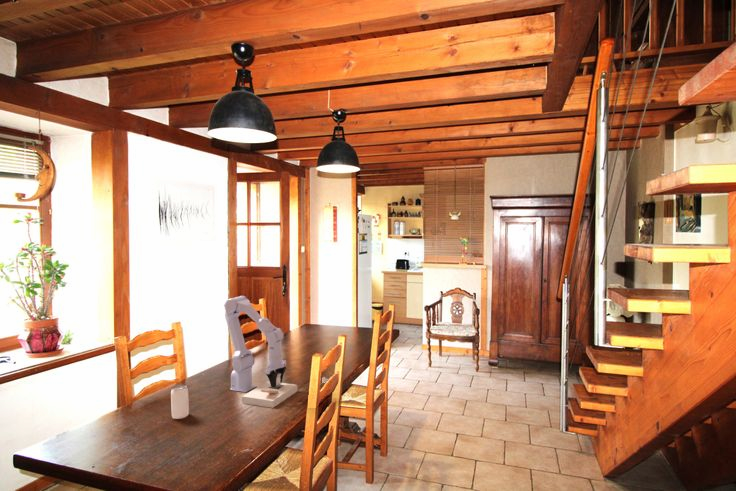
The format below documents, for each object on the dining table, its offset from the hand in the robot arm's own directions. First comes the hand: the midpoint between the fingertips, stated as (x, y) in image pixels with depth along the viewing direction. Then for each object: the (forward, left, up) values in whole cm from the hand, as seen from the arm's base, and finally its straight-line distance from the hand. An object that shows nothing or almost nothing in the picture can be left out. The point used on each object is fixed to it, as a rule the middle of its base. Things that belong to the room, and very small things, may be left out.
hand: (276, 384), depth 200 cm
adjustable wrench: (+17, +13, -4) cm, 21 cm away
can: (-24, -34, -4) cm, 42 cm away
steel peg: (0, 0, -3) cm, 3 cm away
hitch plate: (0, -5, -4) cm, 6 cm away
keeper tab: (+3, -10, 0) cm, 10 cm away
